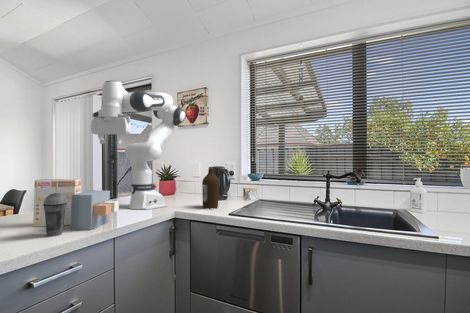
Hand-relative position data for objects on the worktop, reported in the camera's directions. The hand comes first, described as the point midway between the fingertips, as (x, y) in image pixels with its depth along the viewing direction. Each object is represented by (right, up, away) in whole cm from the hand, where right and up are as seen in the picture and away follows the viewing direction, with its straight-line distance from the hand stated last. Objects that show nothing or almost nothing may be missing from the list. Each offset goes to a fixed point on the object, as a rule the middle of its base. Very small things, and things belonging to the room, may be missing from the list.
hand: (110, 143), depth 107 cm
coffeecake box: (-19, -36, -7) cm, 41 cm away
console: (-4, -36, -8) cm, 37 cm away
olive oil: (+43, -38, +34) cm, 66 cm away
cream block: (+2, -30, -4) cm, 31 cm away
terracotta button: (+2, -30, -11) cm, 32 cm away
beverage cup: (-9, -36, -22) cm, 42 cm away
